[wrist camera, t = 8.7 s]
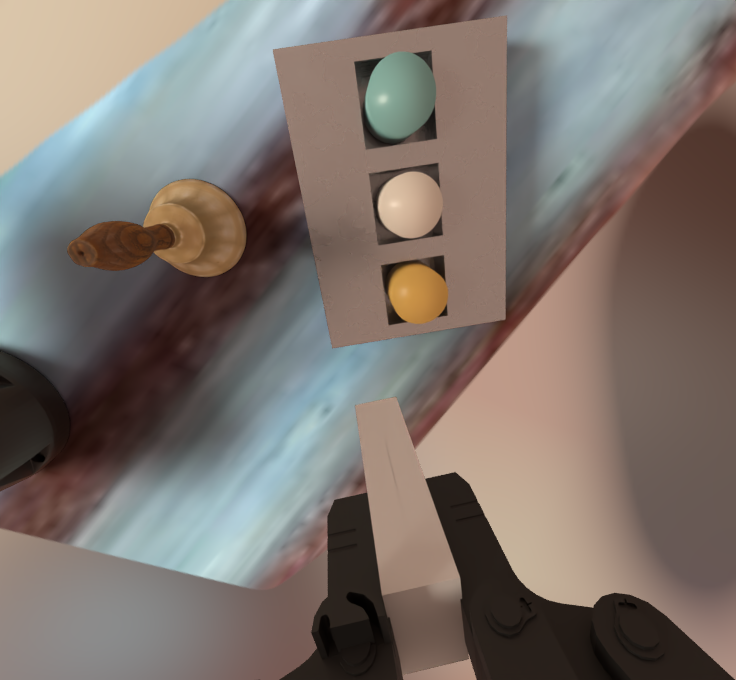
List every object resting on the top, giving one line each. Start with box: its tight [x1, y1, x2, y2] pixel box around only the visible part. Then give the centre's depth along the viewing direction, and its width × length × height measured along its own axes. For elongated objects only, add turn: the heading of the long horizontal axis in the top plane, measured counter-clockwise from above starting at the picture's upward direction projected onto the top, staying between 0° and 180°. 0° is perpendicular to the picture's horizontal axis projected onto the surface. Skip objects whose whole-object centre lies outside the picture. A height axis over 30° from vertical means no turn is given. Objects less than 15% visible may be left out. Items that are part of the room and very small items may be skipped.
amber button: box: [385, 260, 448, 324], centre depth 31 cm, size 5×5×4 cm
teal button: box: [363, 52, 436, 144], centre depth 25 cm, size 5×5×4 cm
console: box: [273, 16, 507, 348], centre depth 30 cm, size 16×22×4 cm
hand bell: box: [67, 179, 246, 277], centre depth 24 cm, size 8×8×16 cm
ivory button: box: [375, 172, 443, 238], centre depth 28 cm, size 5×5×4 cm
